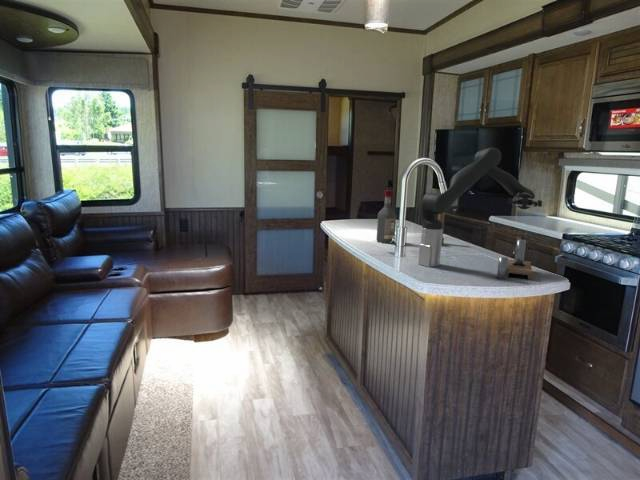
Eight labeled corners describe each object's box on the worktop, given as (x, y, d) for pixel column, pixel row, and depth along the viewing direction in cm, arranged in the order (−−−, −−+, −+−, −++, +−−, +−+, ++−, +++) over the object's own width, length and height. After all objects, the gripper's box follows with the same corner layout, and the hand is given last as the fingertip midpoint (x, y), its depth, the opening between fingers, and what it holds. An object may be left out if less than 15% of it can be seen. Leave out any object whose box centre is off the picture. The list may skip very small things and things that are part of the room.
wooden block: (424, 243, 259) (426, 212, 256) (439, 242, 263) (442, 212, 260) (428, 244, 256) (430, 213, 253) (443, 244, 260) (446, 213, 257)
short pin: (503, 280, 185) (505, 259, 183) (495, 278, 188) (497, 257, 186) (507, 279, 187) (509, 258, 186) (499, 277, 190) (501, 256, 188)
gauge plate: (531, 280, 187) (532, 270, 186) (505, 276, 191) (506, 267, 190) (529, 270, 203) (530, 261, 202) (505, 267, 207) (506, 259, 206)
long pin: (519, 275, 195) (523, 241, 192) (511, 273, 197) (515, 239, 194) (523, 273, 197) (527, 240, 194) (515, 272, 200) (519, 239, 197)
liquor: (374, 241, 261) (377, 190, 255) (384, 239, 267) (387, 189, 261) (386, 244, 254) (389, 191, 249) (396, 242, 260) (399, 190, 255)
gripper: (509, 192, 218) (509, 194, 203) (541, 193, 213) (543, 196, 198) (507, 207, 219) (507, 210, 205) (539, 209, 214) (541, 213, 199)
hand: (525, 203), depth 201 cm, fingers open, 8 cm apart
